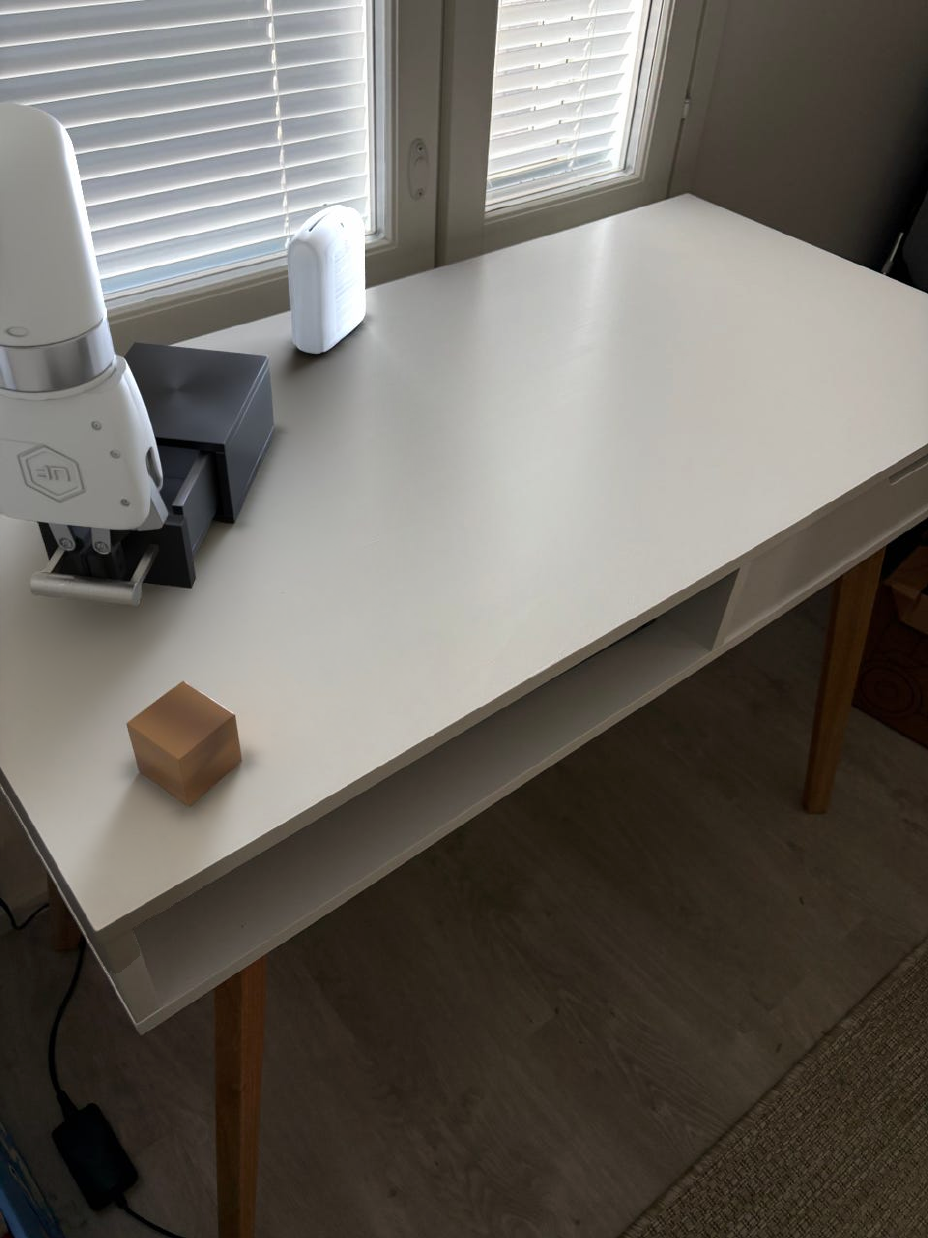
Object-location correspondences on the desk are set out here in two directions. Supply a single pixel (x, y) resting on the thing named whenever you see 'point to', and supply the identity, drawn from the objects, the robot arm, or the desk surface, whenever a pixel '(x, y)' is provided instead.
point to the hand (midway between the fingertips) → (104, 584)
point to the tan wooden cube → (185, 742)
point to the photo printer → (326, 278)
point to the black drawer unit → (209, 410)
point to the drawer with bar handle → (147, 538)
